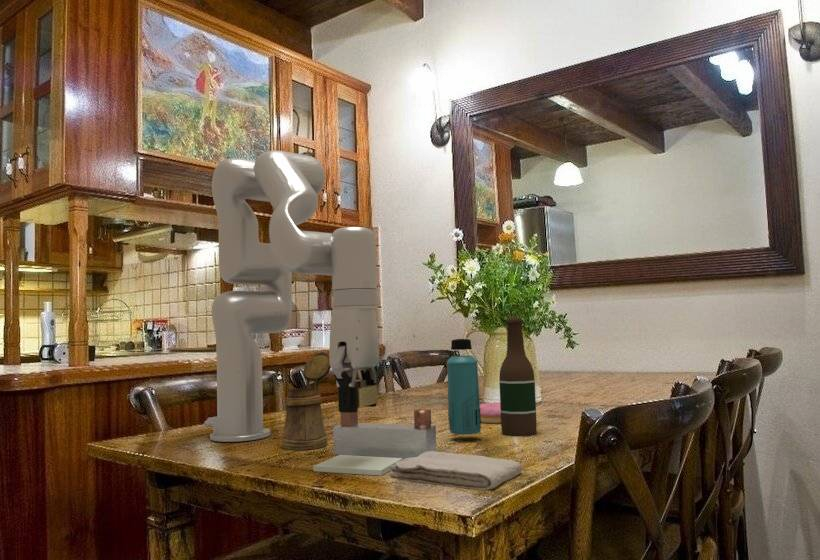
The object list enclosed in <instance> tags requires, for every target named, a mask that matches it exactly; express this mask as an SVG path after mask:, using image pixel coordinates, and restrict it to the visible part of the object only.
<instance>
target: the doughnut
mask: <svg viewBox="0 0 820 560" xmlns="http://www.w3.org/2000/svg"><path fill="white" fill-rule="evenodd" d="M480 414H481V423H484V424H491V425H496V424H499V425H501V408H500V401H499V402H495V401H492V402H487V403H486V402H485V403H480Z"/></svg>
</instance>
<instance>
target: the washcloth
mask: <svg viewBox="0 0 820 560" xmlns="http://www.w3.org/2000/svg"><path fill="white" fill-rule="evenodd" d="M390 468H391V469H392V470H390V471H389V473H388V474H389V476H391V477H393V478H396V479H399V480H405V481H410V482H418V483H425V484H433V485H439V486H441V485H442V486H447V487H448V486H450V487H456V488H457V487H458V488H463V489H464V488H465V489H472V490H479V491H489V490H493V489H495V488H497V487H499V486H500V485H501V484H503V483H504V482H507V481H510V480H512V479H514V478H515V477H517V476H519V475H520V474H521V473H522V470H523V468H522V465H521V463H520V462H518V461H516V460H513V459H512V460H511V459H506V458H496V457H495V458H493V457H489V456H484V455H475V454H463V453H453V452H452V453H451V452H450V453H449V452H444V451H436V452H435V451H430V452H424V453H423V454H420V455H419V456H418V457H412V458H403V460H401V461H399V462H396V463H395V465H391V466H390Z"/></svg>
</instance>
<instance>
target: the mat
mask: <svg viewBox="0 0 820 560" xmlns="http://www.w3.org/2000/svg"><path fill="white" fill-rule="evenodd" d="M401 460H404V458H389V457H370V456H352V455H335V456H333V457H331V458H328V459H326V460H325V461H322V462H320V463H316V464H314V465H313V466H312V470H313V472H320V473H336V474H353V475H365V476H366V475H367V476H383V475H385V474H386V473H388V472H390V471H392V469H391V468H390V466H391V465H395V463H396V462H399V461H401Z"/></svg>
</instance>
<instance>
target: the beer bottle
mask: <svg viewBox="0 0 820 560" xmlns="http://www.w3.org/2000/svg"><path fill="white" fill-rule="evenodd" d="M505 321H506V322H505V323H506V325H507V327H506V328H507V333H506V334H507V338H506V339H507V341H506V344H507V345H506V356H505V358H504V360H503V361H502V363H501V366H500V369H499V403H500V408H501V424H500V426H501V433H502V435H504V436H511V437H528V436H535V435H536V434H537V432H538V431H537V430H538V429H537V423H538V422H537V406H536V405H537V401H536V380H535V372H534V368H533V366H532V363H531V361H530V360H529V358H528V357H527V355H526V351H525V343H524V334H523V326H522V324H523V323H524V321H523V318H522V317H520V316H518V317H507V318H506V320H505Z"/></svg>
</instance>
